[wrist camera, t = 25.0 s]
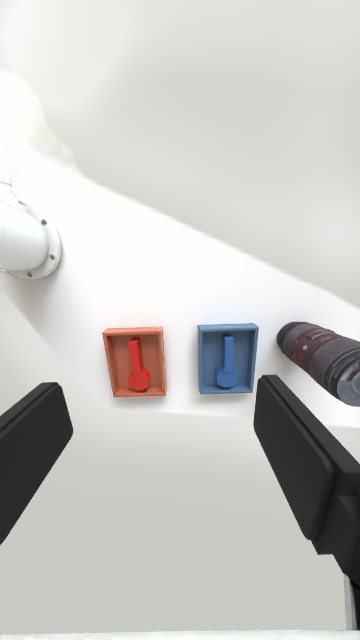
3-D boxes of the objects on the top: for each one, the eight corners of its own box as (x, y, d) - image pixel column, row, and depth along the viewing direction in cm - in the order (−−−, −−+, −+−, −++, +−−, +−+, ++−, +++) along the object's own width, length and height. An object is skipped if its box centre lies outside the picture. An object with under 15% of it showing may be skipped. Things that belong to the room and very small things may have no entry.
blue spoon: (234, 381, 38) (238, 389, 35) (214, 381, 38) (217, 389, 35) (237, 333, 35) (241, 338, 32) (215, 334, 35) (218, 339, 32)
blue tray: (198, 325, 35) (199, 329, 32) (253, 323, 34) (258, 327, 32) (198, 386, 39) (199, 394, 36) (248, 385, 39) (252, 392, 36)
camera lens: (265, 346, 36) (322, 396, 21) (287, 312, 34) (367, 342, 19) (297, 360, 37) (372, 417, 22) (320, 328, 35) (420, 368, 20)
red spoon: (151, 384, 38) (149, 392, 35) (131, 385, 38) (128, 393, 35) (146, 337, 35) (144, 342, 32) (125, 338, 35) (120, 343, 32)
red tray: (107, 328, 35) (102, 332, 32) (162, 326, 35) (160, 330, 32) (117, 389, 39) (113, 397, 36) (166, 387, 39) (165, 395, 36)
